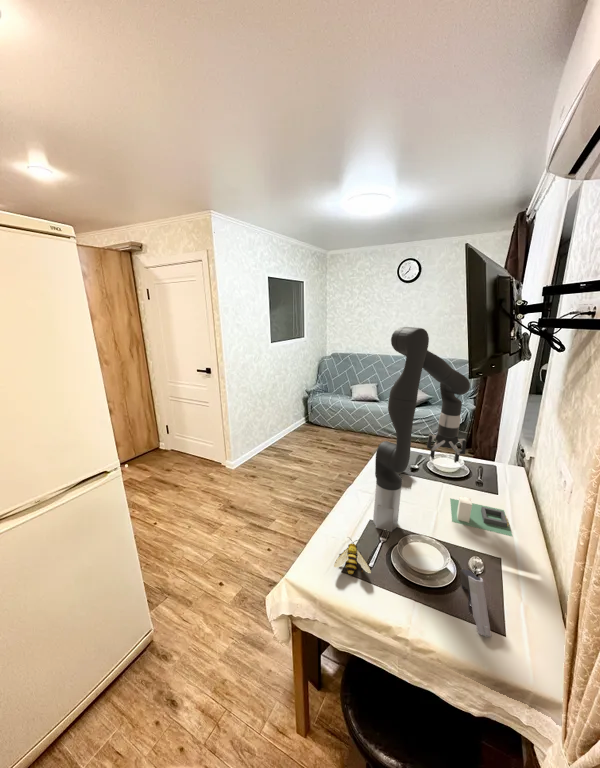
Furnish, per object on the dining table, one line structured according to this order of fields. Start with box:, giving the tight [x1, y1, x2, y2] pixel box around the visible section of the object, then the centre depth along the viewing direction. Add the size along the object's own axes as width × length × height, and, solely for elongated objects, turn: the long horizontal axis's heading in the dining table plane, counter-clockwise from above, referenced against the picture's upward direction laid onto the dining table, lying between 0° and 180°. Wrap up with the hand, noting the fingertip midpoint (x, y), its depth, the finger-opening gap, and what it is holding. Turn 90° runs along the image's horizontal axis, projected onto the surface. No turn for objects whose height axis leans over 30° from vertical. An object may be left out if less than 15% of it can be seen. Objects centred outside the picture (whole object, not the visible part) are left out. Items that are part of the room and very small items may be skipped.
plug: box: [457, 496, 473, 523], centre depth 122 cm, size 5×4×8 cm
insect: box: [333, 536, 372, 577], centre depth 103 cm, size 11×15×5 cm
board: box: [449, 498, 513, 537], centre depth 124 cm, size 16×20×3 cm
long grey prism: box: [459, 568, 492, 638], centre depth 88 cm, size 4×15×12 cm
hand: (443, 459), depth 130 cm, fingers open, 8 cm apart
